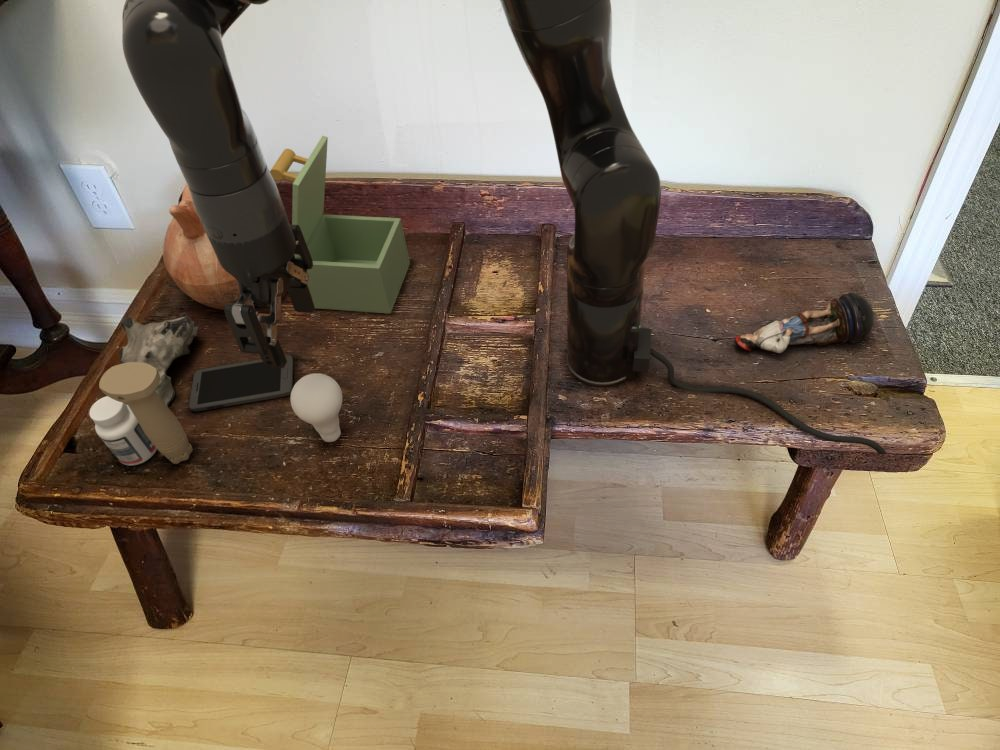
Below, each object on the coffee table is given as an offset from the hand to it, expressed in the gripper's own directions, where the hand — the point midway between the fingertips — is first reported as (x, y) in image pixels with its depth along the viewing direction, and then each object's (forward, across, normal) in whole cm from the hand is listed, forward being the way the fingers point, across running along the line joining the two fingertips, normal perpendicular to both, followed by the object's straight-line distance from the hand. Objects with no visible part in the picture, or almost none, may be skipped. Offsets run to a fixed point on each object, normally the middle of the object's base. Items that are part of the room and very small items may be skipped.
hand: (291, 336), depth 81 cm
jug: (+18, +27, +24) cm, 40 cm away
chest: (+18, +29, +5) cm, 34 cm away
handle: (+19, -5, +19) cm, 27 cm away
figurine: (+18, +24, -59) cm, 66 cm away
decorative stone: (+19, +9, +28) cm, 35 cm away
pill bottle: (+19, -5, +25) cm, 31 cm away
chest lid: (+3, +29, +9) cm, 30 cm away
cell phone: (+18, +7, +15) cm, 25 cm away
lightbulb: (+18, 0, 0) cm, 19 cm away
